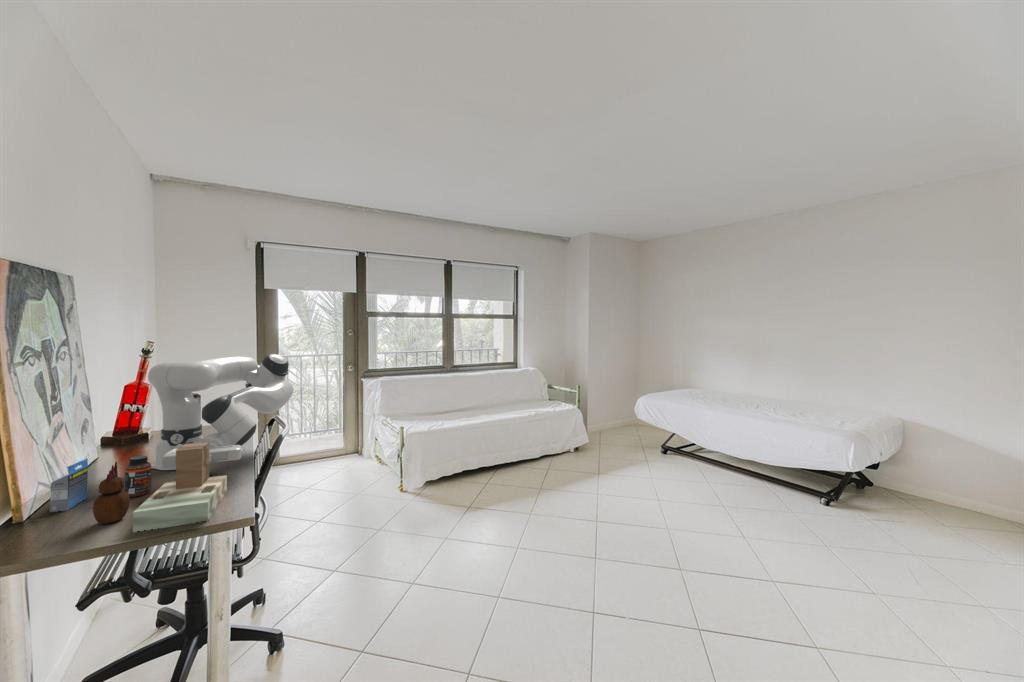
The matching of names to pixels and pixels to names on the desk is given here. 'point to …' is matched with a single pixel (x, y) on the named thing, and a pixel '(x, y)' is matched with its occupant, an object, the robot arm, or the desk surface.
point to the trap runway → (179, 505)
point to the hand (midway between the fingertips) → (198, 462)
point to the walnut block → (192, 465)
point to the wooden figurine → (111, 499)
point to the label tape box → (69, 488)
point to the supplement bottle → (138, 476)
